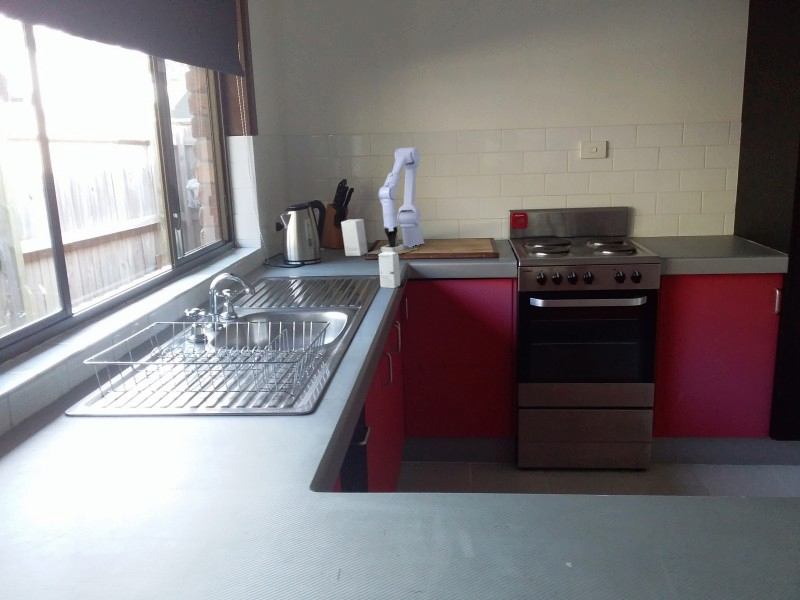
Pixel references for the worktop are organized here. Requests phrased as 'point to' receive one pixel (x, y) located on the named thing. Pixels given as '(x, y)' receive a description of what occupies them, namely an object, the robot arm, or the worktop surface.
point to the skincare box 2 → (389, 269)
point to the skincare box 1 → (354, 237)
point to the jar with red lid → (395, 242)
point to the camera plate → (392, 248)
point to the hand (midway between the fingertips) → (392, 245)
